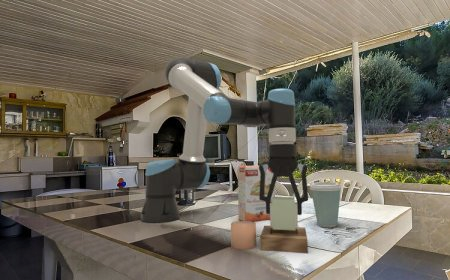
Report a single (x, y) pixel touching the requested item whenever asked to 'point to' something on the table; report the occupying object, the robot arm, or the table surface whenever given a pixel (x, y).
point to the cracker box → (252, 193)
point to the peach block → (243, 235)
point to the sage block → (283, 213)
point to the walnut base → (284, 240)
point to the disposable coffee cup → (326, 202)
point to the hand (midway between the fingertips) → (284, 225)
